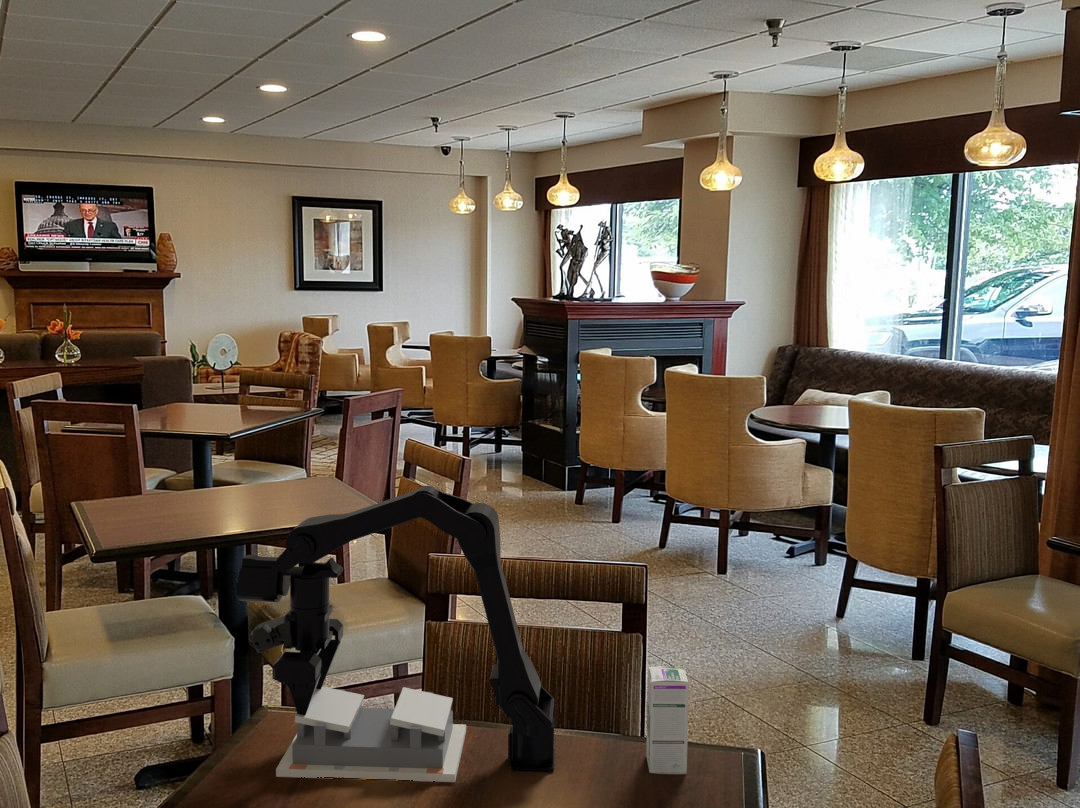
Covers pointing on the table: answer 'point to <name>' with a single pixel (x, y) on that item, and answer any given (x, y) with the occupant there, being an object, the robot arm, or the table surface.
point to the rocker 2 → (422, 711)
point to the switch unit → (374, 750)
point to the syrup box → (667, 720)
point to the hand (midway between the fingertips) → (309, 702)
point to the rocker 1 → (332, 709)
